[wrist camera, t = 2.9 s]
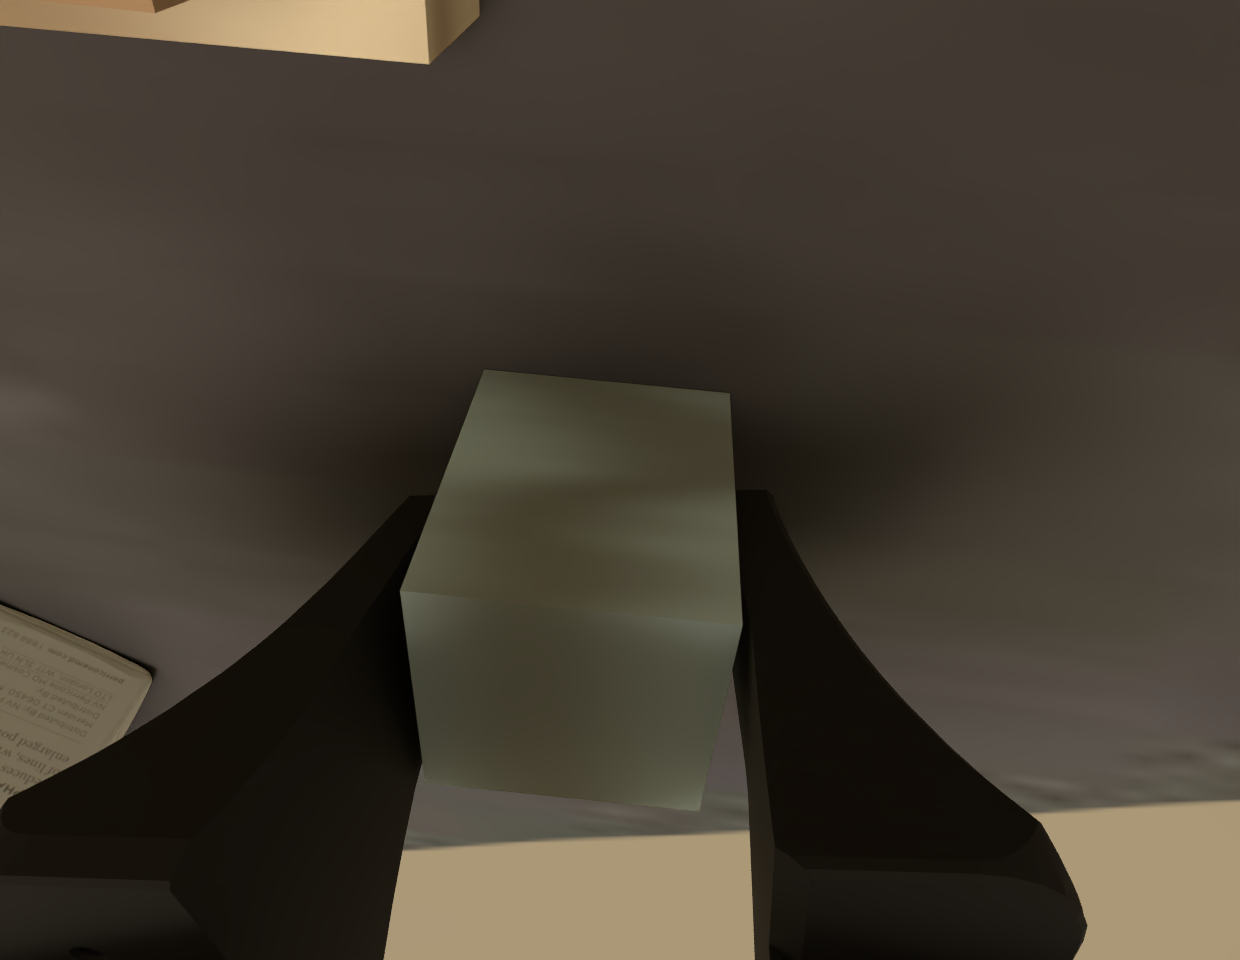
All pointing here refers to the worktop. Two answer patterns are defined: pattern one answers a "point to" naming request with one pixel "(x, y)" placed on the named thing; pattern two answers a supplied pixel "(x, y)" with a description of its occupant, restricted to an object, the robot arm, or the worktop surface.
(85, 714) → the skincare box
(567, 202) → the worktop surface
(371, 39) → the birch slab
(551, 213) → the worktop surface
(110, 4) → the walnut block
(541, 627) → the greenish gray cube
